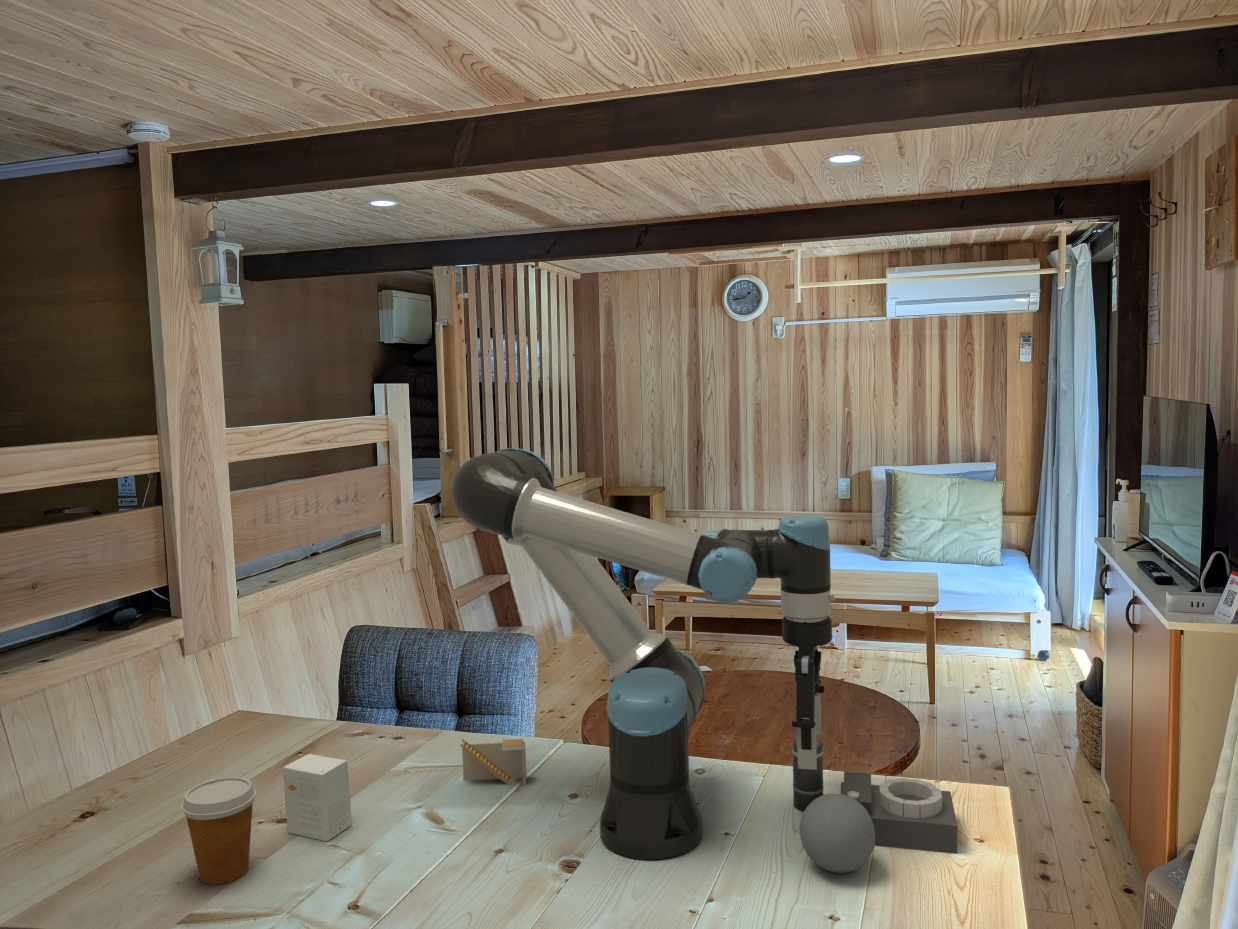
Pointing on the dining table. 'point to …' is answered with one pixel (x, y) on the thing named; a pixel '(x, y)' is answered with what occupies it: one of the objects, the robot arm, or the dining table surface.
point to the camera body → (906, 812)
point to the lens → (807, 779)
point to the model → (494, 760)
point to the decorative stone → (837, 833)
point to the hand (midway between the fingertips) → (810, 750)
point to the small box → (317, 797)
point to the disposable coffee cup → (220, 827)
